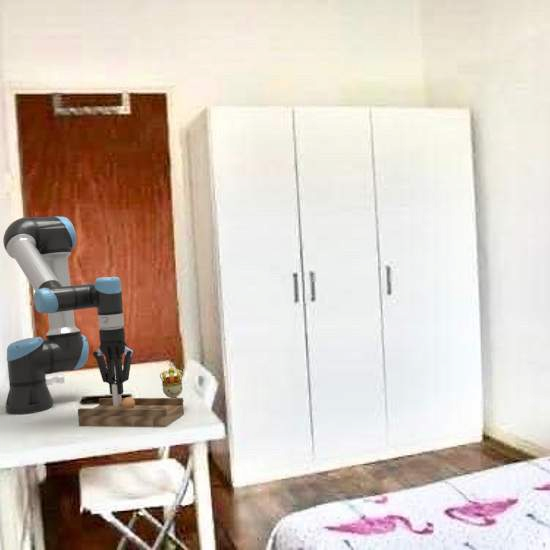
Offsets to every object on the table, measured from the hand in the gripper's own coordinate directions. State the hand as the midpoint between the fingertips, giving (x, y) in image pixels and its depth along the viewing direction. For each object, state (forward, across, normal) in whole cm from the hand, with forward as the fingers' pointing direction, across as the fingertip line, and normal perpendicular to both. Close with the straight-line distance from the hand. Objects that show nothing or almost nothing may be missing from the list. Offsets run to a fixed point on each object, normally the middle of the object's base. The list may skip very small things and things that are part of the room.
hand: (117, 404), depth 210 cm
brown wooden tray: (+5, +4, 0) cm, 6 cm away
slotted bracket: (+5, -58, +55) cm, 80 cm away
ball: (0, +4, 0) cm, 4 cm away
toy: (+5, +13, +12) cm, 18 cm away
